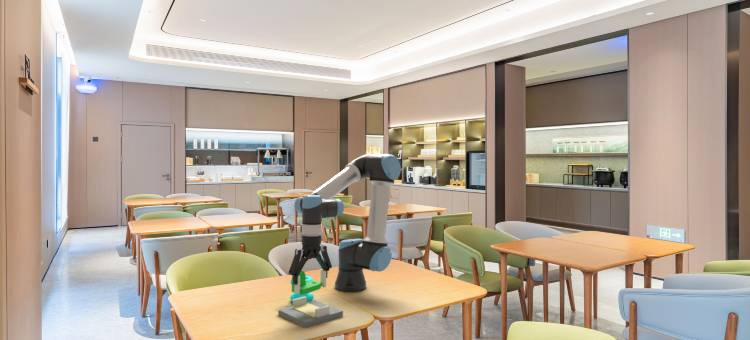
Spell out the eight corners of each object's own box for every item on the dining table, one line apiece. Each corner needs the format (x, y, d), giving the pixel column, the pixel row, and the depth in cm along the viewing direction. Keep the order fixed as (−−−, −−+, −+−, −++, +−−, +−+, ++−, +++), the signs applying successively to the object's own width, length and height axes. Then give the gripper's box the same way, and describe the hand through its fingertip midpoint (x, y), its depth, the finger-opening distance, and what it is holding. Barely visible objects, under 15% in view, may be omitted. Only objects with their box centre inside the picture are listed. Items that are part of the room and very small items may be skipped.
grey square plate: (315, 304, 187) (315, 292, 187) (342, 315, 174) (343, 303, 174) (278, 314, 175) (278, 302, 174) (305, 327, 162) (305, 314, 162)
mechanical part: (303, 294, 169) (303, 273, 168) (291, 291, 172) (292, 271, 172) (323, 287, 179) (324, 267, 178) (312, 285, 182) (313, 265, 182)
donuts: (307, 282, 186) (286, 279, 189) (306, 305, 186) (285, 302, 189) (317, 276, 195) (297, 273, 198) (317, 298, 195) (297, 296, 199)
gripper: (329, 230, 185) (328, 282, 185) (279, 236, 168) (278, 293, 168) (341, 232, 179) (340, 286, 180) (291, 239, 162) (289, 297, 163)
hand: (310, 289), depth 174 cm, fingers closed on mechanical part, 12 cm apart
